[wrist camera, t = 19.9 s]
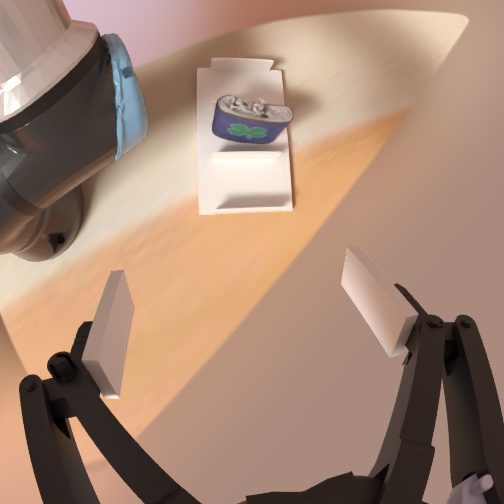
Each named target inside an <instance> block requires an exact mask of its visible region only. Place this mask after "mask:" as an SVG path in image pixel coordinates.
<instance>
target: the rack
mask: <svg viewBox="0 0 504 504" xmlns="http://www.w3.org/2000/svg"><path fill="white" fill-rule="evenodd" d="M273 63H274V60H267V59H251V58H212V59H211V66H210V68H197V169H198V198H199V215H213V214H233V213H255V212H283V211H293V209H292V192H291V176H290V162H289V149H288V136H287V126H286V127H285V129H284V130H283V131H282V132H281V133H280V134H279V135H278V136H277V138H276V139H275V140H274V141H273V142H271V143H269V144H255V143H254V144H253V143H239V142H233V141H228V140H226V139H221V138H219V137H217V136H215V135H214V134H213V132H212V122H213V117H214V111H215V107H216V103H217V99H219V98H220V97H222V96H225V95H231V96H235V97H237V98H240V99H243V100H247V101H250V102H258V103H260V102H261V100H259V98H262V99H264V100H265V101H266V103H265V104H268V105H284V106H285V103H284V92H283V83H282V73H281V70H270V68H271V66H272V65H273Z"/></svg>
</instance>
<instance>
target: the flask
mask: <svg viewBox="0 0 504 504" xmlns="http://www.w3.org/2000/svg"><path fill="white" fill-rule="evenodd" d="M259 100H261V102H260V103H258V102H250V101H247V100H243V99H240V98H237V97H235V96H231V95H225V96H222V97H220V98H219V99H217V103H216V107H215V111H214V117H213V122H212V132H213V134H214V135H215V136H217V137H219V138H221V139H226V140H228V141H233V142H239V143H253V144H254V143H255V144H269V143H271V142H273V141H274V140H275V139H276V138H277V136H278V135H279V134H280V133H281V132H282V131H283V130H284V129H285V127H286V126H287V125H288V124H289V123H290V122H291V121H292V119H293V117H294V114H293V112H292V110H291V109H290V108H289V107H287V106H284V105H268V104H265V103H266V101H265V100H264V99H262V98H259Z"/></svg>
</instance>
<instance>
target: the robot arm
mask: <svg viewBox="0 0 504 504" xmlns="http://www.w3.org/2000/svg"><path fill="white" fill-rule="evenodd" d="M147 131H148V117H147V111H146V107H145V102H144V99H143V95H142V92H141V88H140V85H139V82H138V79H137V76H136V75H135V73H134V72H133V67H132V64H131V59H130V57H129V54H128V52H127V50H126V48H125V45H124V43H123V42H122V40H121V39H120V37H119V36H118V35H117V34H113V33H112V34H109V35H108V34H105V35H103V36H100V34H99V32H98V29H97V27H96V26H95V25H94V24H93V23H89V22H83V21H76V20H72V19H71V18H70V16H69V14H68V11H67V9H66V7H65V5H64V3H63V1H62V0H0V254H7V253H13V254H15V255H16V256H18V257H20V258H22V259H25V260H28V261H33V262H40V261H45V260H50V259H53V258H55V257H57V256H59V255H60V254H62V253H63V252H64V251H65V250H66V249H67V248H68V247H69V246H70V245H71V244H72V242H73V241H74V239H75V237H76V235H77V233H78V231H79V228H80V225H81V221H82V217H83V195H82V191H81V187H80V184H81V183H82V182H84V181H85V180H87V179H88V178H90V177H91V176H93V175H94V174H96V173H97V172H99V171H100V170H102V169H104V168H105V167H107V166H108V165H110V164H112V163H115V162H116V161H118V160H119V159H120V157H121V156H122V155H124V154H125V153H127V152H128V151H129V150H131V149H132V148H134V147H135V146H137V145H138V144H140V143H141V142H142V141H143V139H144V138H145V136H146V134H147ZM341 284H342V286H343V287H344V288H345V290H346V292H347V293H348V295H349V296H350V298H351V299H352V301H353V302H354V303H355V305H356V307H357V308H358V309H359V311H360V312H361V314H362V315H363V317H364V318H365V320H366V322H367V323H368V325H369V326H370V327H371V329H372V331H373V332H374V333H375V335H376V337H377V338H378V340H379V341H380V343H381V345H382V346H383V347H384V349H385V351H386V352H387V354H388V356H389V357H394V356H396V355H400V354H402V352H403V350H404V348H405V346H406V347H407V349H408V350H409V352H408V354H407V356H406V358H405V360H404V362H403V365H404V364H405V366H404V371H403V375H402V379H401V384H400V388H399V391H398V395H397V399H396V402H395V406H394V409H393V413H392V417H391V420H390V423H389V426H388V430H387V432H386V436H385V438H384V442H383V444H382V447H381V450H380V453H379V456H378V459H377V461H376V463H375V465H374V467H373V469H372V470H371V472H370V474H369V476H354V475H353V473H352V471H351V472H349V473H346V474H342V475H339V476H336V477H332V478H329V479H327V480H325V481H323V482H321V483H319V484H317V485H315V486H314V487H311V488H310V489H308V490H306V491H303V492H269V493H263V494H257V495H250V496H246V500H247V501H243V502H240V503H238V504H428V503H426V502H423V501H422V497H423V494H424V491H425V488H426V484H427V480H428V477H429V474H430V470H431V466H432V462H433V457H434V452H435V448H434V447H433V446H432V445H431V442H432V437H433V432H434V427H435V422H436V416H437V409H438V404H439V397H440V389H441V380H443V387H444V393H445V401H446V410H447V420H448V431H449V447H450V472H451V482H452V488H453V490H452V492H451V493H450V497H449V498H448V500H447V503H446V504H504V422H503V417H502V412H501V407H500V403H499V399H498V394H497V391H496V386H495V382H494V378H493V375H492V371H491V368H490V364H489V361H488V358H487V354H486V351H485V348H484V345H483V342H482V339H481V336H480V334H479V331H478V328H477V326H476V323H475V321H474V320H473V319H472V318H471V317H469V316H467V315H459V316H457V318H456V320H455V322H444V321H443V320H442V319H441V318H439V317H438V316H435V315H428V314H427V313H426V312H425V310H424V309H423V308H422V307H421V306H420V305H419V303H418V302H417V301H416V300H414V298H413V297H412V295H410V293H409V292H408V291H407V290H406V289H405V288H404V287H402V286H401V285H399V284H392V282H391V281H390V280H389V279H388V278H387V277H386V276H385V274H383V272H382V271H381V270H380V269H379V268H378V267H377V266H376V265H375V263H374V262H373V261H372V260H371V259H370V258H369V257H368V256H367V255H366V254H365V253H364V251H363V250H362V249H361V248H360V247H359V246H350V247H347V251H346V258H345V264H344V270H343V276H342V282H341ZM133 313H134V304H133V301H132V298H131V295H130V291H129V288H128V284H127V281H126V277H125V274H124V270H117V271H111V273H110V275H109V278H108V281H107V283H106V286H105V289H104V291H103V294H102V297H101V300H100V303H99V306H98V308H97V311H96V314H95V317H94V320H93V321H88V322H84V323H83V324H82V325H81V326H80V327H79V329H78V331H77V334H76V338H75V340H74V344H73V346H72V349H71V352H70V353H68V352H65V351H64V352H58V353H56V354H54V355H53V356H52V357H51V358H50V359H49V361H48V364H47V368H48V371H49V372H50V374H51V375H52V377H53V378H50V379H46V380H41V379H40V377H38V376H37V375H34V374H32V375H28V376H26V377H25V378H24V379H23V380H22V381H21V383H20V386H19V393H20V402H21V410H22V417H23V424H24V429H25V435H26V440H27V445H28V450H29V454H30V459H31V463H32V467H33V470H34V474H35V478H36V481H37V485H38V488H39V491H40V494H41V498H42V500H43V503H44V504H100V502H99V500H98V498H97V495H96V493H95V491H94V489H93V486H92V484H91V482H90V479H89V477H88V474H87V472H86V469H85V467H84V464H83V462H82V459H81V456H80V454H79V451H78V448H77V445H76V442H75V439H74V436H73V433H72V429H71V426H70V423H69V419H68V418H71V417H75V416H76V417H77V418H78V420H79V421H80V423H81V424H82V426H83V427H84V429H85V430H86V432H87V433H88V435H89V436H90V438H91V439H92V440H93V442H94V443H95V445H96V446H97V447H98V449H99V450H100V452H101V453H102V454H103V456H104V457H105V458H106V459H107V461H108V462H109V463H110V465H111V466H112V467H113V468H114V469H115V471H116V472H117V473H118V474H119V475H120V477H121V478H122V479H123V480H124V482H125V483H126V484H127V485H128V486H129V487H130V488H131V489H132V491H133V492H134V493H135V494H136V495H137V496H138V497H139V498H140V499H141V500H142V501H143V503H145V504H201V503H200V502H199V501H198V500H196V499H195V498H194V497H193V496H192V495H191V494H189V493H188V492H187V491H186V490H185V489H183V488H182V487H181V486H180V485H179V484H177V483H176V482H175V481H174V480H173V479H172V478H171V477H170V476H169V475H168V474H167V473H166V472H165V471H164V470H163V469H161V467H160V466H159V465H158V464H157V463H156V462H155V461H154V460H153V459H152V458H151V457H150V456H149V455H148V454H147V453H146V452H145V451H144V450H143V449H142V448H141V447H140V445H139V444H138V443H137V442H136V441H135V440H134V439H133V438H132V436H131V435H130V434H129V433H128V432H127V431H126V430H125V428H124V427H123V426H122V425H121V424H120V422H119V421H118V420H117V419H116V417H115V416H114V415H113V414H112V412H111V411H110V410H109V409H108V407H107V406H106V405H105V403H104V402H103V401H102V400H101V398H100V391H101V393H102V395H103V396H104V398H120V391H121V384H122V376H123V370H124V363H125V357H126V351H127V345H128V339H129V334H130V328H131V323H132V318H133Z"/></svg>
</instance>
